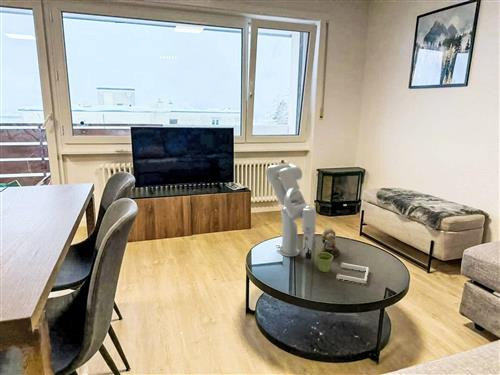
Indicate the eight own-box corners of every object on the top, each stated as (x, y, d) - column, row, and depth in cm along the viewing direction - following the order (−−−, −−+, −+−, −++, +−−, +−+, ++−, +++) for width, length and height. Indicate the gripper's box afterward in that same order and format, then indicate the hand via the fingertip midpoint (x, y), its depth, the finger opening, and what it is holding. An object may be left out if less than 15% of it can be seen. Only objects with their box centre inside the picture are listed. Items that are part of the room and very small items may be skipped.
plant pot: (335, 269, 196) (336, 255, 194) (326, 275, 189) (327, 261, 187) (321, 264, 202) (322, 250, 200) (312, 270, 195) (313, 256, 193)
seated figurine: (340, 260, 207) (341, 234, 202) (320, 258, 209) (321, 233, 205) (338, 247, 224) (340, 223, 219) (320, 246, 226) (321, 222, 222)
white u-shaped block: (336, 279, 186) (336, 273, 185) (340, 266, 199) (341, 261, 198) (365, 284, 180) (366, 279, 179) (368, 271, 193) (368, 266, 192)
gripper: (312, 234, 185) (311, 265, 189) (318, 225, 198) (317, 254, 202) (298, 232, 188) (298, 263, 192) (305, 224, 201) (305, 252, 205)
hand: (308, 258), depth 197 cm, fingers closed
